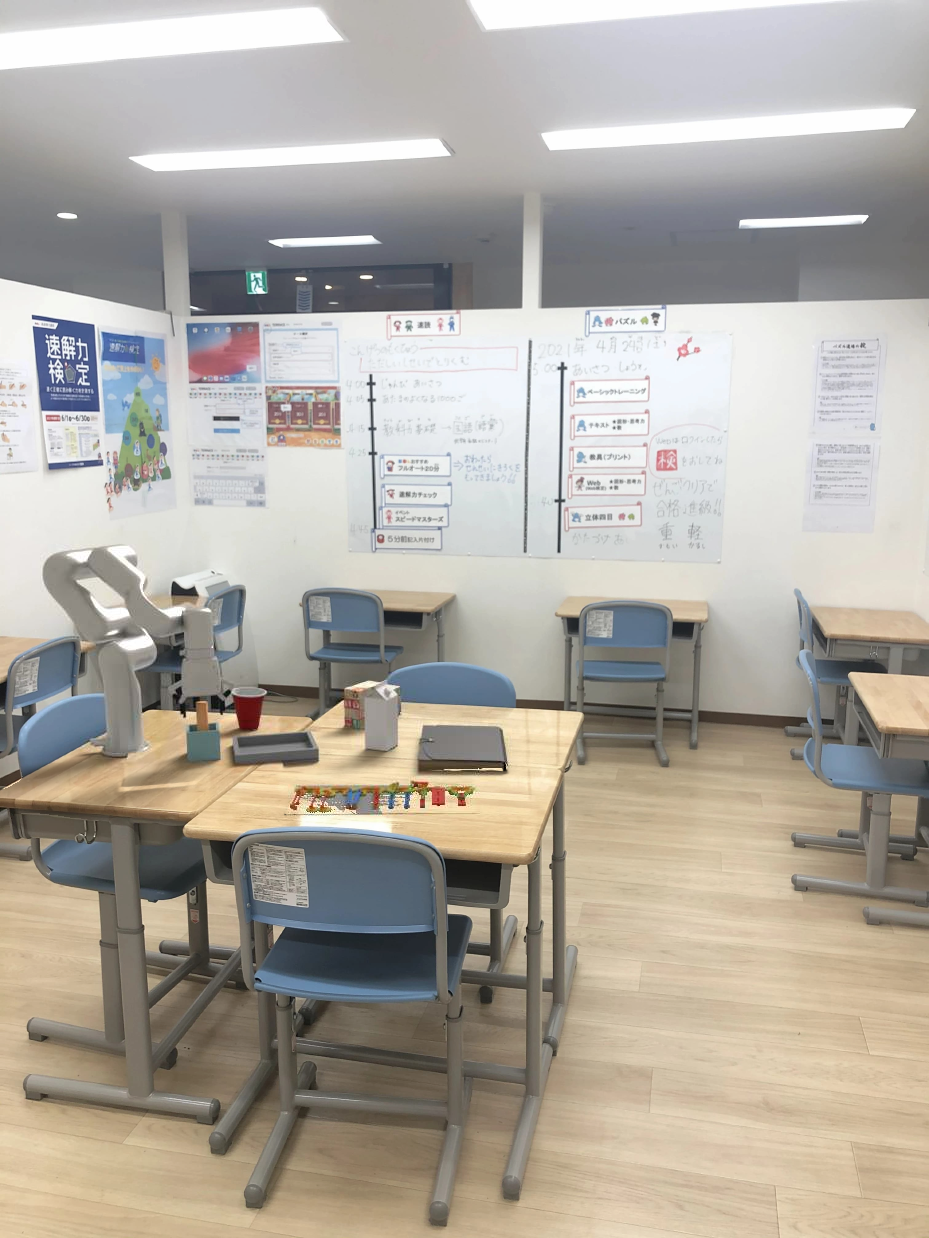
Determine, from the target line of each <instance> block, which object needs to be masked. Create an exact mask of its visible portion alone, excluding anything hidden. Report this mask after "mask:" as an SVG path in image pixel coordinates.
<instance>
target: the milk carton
mask: <svg viewBox="0 0 929 1238" xmlns="http://www.w3.org/2000/svg"><path fill="white" fill-rule="evenodd" d="M380 682H381V683H378V684H376V685H375V689H374V690H373V691H372V692H371V693H369V694H368V695H367V696H366V697H365V698H364V709H365V727H364V749H367V750H373V751H382V752H390V750H391V748H392V749H393V747H394V748H395V747H397V746H398V745H399V725H398V724H399V717H398V716H399V715H398V695H397V693H396V692H395V691H394V690H393V689H392V688H391V687H390V686H389V685H390V684H388V680H387V679H385V680H383V681H380ZM397 744H398V745H397ZM396 745H397V746H396Z"/></svg>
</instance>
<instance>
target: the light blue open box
mask: <svg viewBox="0 0 929 1238" xmlns="http://www.w3.org/2000/svg"><path fill="white" fill-rule="evenodd" d="M208 727H209V731H197V723H188V724H187V723H186V731H185V733H186V734H185V736H186V737H185V738H186V757H187V759H186V760H187V763H191V762H204V761H205V762H206V761H207V762H208V761H216V760H218V761H219V760H221V759H222V757H221V755H222V753H221V735H220V734H221V733H220V731H221V730H220V722H219V721H218V722H217V721H215V722H208Z"/></svg>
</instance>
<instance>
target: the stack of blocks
mask: <svg viewBox="0 0 929 1238" xmlns="http://www.w3.org/2000/svg"><path fill="white" fill-rule="evenodd" d="M381 682H382V681H380V682H378V681H374V680H367V681H364V682H360V683H357V684H355V685H351V686H347V687H345V688H344V689H343V696H344V697H343V707H344V708H343V709H344V727H349V728H352V729H359V730H361V729H365V709H364V698H365V697H366V696H367V695H368V694H369V693H371V692H372V691H373V690H374V689H375V685H376V684H378V683H381ZM388 685H389V686H390V687H391V688H392V689H393V690H394V691H395V692H396V693H397V695H398V713H400V712H401V713H402V695H401V694H402V693H401V692H402V689H401V688H402V687H401V686H399V685H392V684H388Z"/></svg>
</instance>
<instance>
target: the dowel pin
mask: <svg viewBox="0 0 929 1238" xmlns="http://www.w3.org/2000/svg"><path fill="white" fill-rule="evenodd" d="M195 708H196V709H195V710H196V711H195V713H196V724H197V731H209V727H208V723H209V705H208V701H205V700H200V701H196V702H195Z"/></svg>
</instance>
